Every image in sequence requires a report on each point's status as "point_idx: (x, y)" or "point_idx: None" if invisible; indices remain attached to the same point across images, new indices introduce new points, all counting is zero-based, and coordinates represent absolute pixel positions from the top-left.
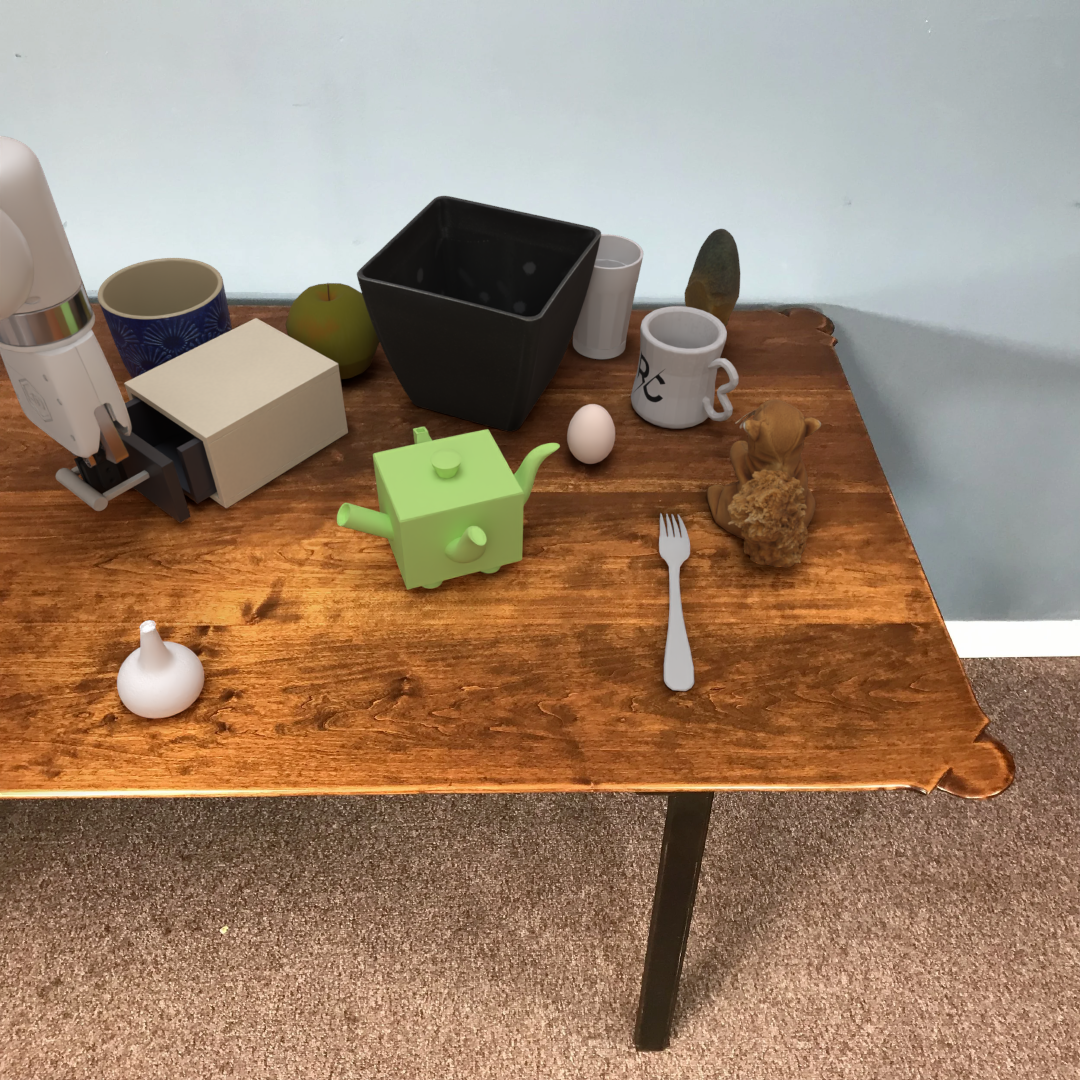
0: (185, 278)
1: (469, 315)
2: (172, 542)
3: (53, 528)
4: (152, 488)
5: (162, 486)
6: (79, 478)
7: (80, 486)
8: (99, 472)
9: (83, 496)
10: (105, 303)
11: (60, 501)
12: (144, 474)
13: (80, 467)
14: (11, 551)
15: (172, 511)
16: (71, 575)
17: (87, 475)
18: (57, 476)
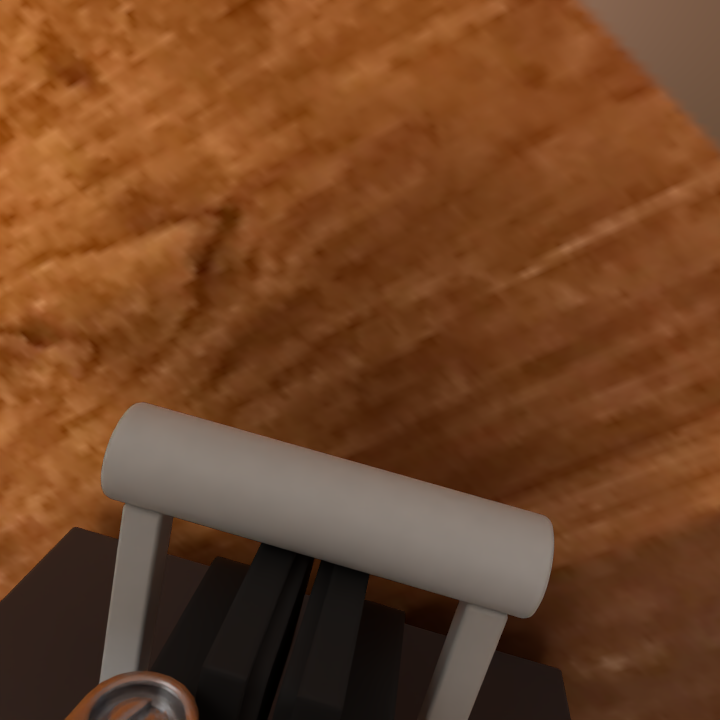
0: None
1: None
2: (79, 442)
3: (573, 310)
4: (164, 640)
5: (7, 666)
6: (369, 571)
7: (285, 515)
8: (169, 652)
9: (222, 454)
10: None
11: (669, 455)
12: None
13: (309, 651)
14: (655, 98)
15: (79, 561)
16: (274, 113)
17: (240, 604)
18: (528, 539)
